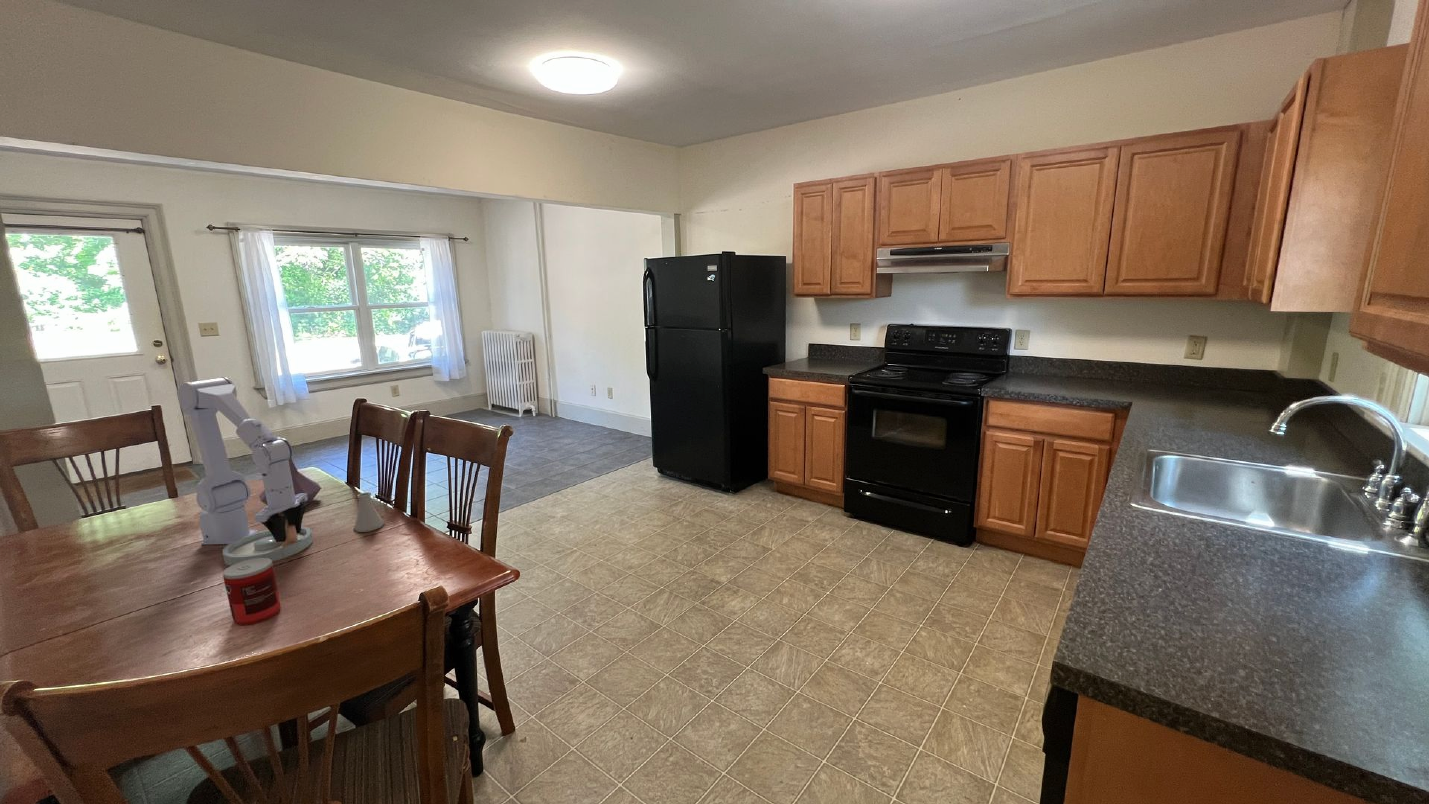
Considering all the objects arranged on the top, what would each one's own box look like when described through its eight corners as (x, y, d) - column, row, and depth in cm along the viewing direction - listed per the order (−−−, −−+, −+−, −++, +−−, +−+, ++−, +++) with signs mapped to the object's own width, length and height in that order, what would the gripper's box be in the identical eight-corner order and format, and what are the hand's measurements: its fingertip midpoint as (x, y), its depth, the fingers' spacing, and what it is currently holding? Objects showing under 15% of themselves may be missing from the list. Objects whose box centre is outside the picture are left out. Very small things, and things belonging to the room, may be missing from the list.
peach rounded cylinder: (279, 548, 143) (275, 530, 142) (289, 542, 146) (285, 524, 145) (292, 548, 143) (288, 530, 142) (301, 542, 146) (298, 524, 145)
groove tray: (204, 566, 136) (202, 557, 136) (264, 534, 154) (262, 526, 153) (276, 566, 136) (274, 556, 135) (328, 534, 154) (326, 525, 153)
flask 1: (336, 499, 180) (325, 439, 176) (279, 518, 165) (266, 453, 161) (305, 492, 186) (294, 435, 182) (248, 510, 172) (235, 448, 168)
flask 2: (370, 533, 153) (365, 499, 151) (348, 532, 154) (342, 498, 152) (390, 523, 160) (385, 490, 158) (368, 521, 161) (363, 489, 159)
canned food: (250, 606, 118) (240, 558, 116) (290, 603, 119) (281, 556, 117) (222, 627, 111) (211, 577, 109) (265, 624, 112) (254, 574, 109)
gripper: (271, 497, 134) (281, 549, 137) (315, 477, 148) (323, 525, 151) (242, 498, 134) (253, 550, 137) (289, 477, 149) (298, 525, 151)
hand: (288, 537), depth 144 cm, fingers open, 4 cm apart
